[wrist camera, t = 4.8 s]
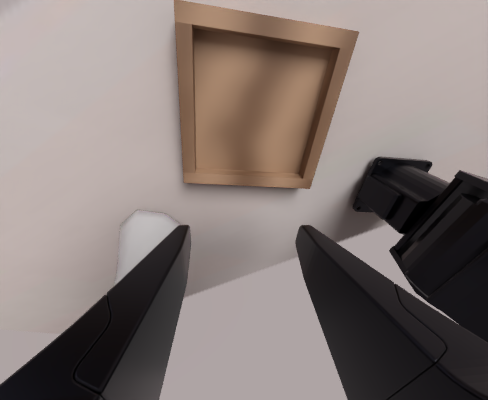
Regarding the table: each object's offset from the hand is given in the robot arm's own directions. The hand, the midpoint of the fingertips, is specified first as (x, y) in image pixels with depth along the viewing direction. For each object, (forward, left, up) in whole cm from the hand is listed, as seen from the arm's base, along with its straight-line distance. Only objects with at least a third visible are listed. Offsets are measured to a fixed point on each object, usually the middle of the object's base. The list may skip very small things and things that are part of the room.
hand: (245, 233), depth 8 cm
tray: (-2, -3, -12) cm, 13 cm away
